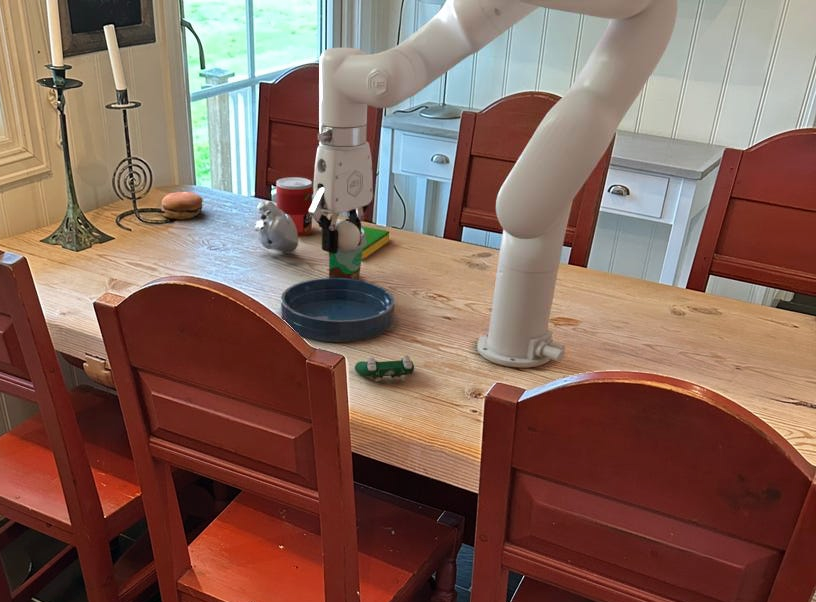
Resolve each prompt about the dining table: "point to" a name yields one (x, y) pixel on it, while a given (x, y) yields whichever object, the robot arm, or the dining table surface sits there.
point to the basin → (338, 309)
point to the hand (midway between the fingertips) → (341, 246)
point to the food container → (347, 262)
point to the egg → (347, 235)
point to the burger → (181, 205)
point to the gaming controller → (385, 368)
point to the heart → (276, 228)
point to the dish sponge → (374, 240)
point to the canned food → (296, 201)
